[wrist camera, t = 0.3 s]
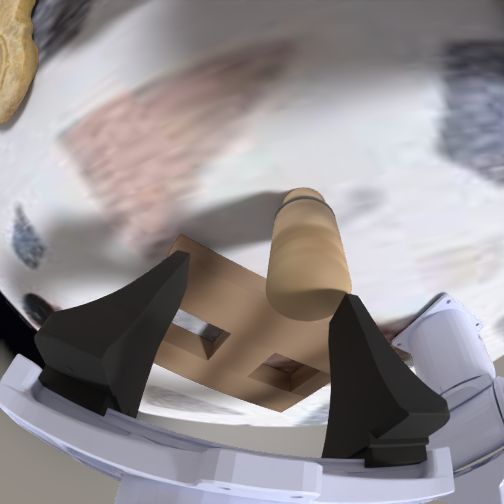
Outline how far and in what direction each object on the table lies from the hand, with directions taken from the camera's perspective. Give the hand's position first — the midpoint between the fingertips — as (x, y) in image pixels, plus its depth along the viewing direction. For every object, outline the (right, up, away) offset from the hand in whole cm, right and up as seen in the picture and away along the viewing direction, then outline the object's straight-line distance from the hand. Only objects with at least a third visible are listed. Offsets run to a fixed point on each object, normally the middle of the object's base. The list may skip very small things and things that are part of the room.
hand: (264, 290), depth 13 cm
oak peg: (+3, +5, +8) cm, 10 cm away
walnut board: (-1, -7, +16) cm, 18 cm away
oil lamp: (-21, +21, +1) cm, 29 cm away
